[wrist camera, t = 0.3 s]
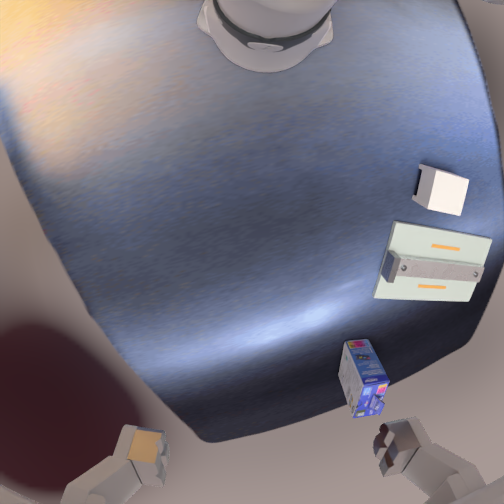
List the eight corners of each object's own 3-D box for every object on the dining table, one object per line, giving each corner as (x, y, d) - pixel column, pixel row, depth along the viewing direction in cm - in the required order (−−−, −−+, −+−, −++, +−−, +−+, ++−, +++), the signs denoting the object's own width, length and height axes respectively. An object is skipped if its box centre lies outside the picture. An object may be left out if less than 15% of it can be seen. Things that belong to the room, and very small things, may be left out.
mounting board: (393, 220, 47) (396, 222, 46) (489, 237, 48) (492, 239, 47) (371, 294, 53) (373, 298, 52) (466, 299, 54) (468, 301, 53)
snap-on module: (419, 163, 43) (436, 170, 38) (451, 172, 44) (469, 179, 39) (411, 199, 46) (427, 208, 41) (444, 206, 46) (460, 216, 41)
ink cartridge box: (361, 371, 61) (380, 424, 48) (337, 375, 61) (353, 429, 48) (370, 337, 57) (395, 391, 44) (344, 340, 57) (364, 396, 44)
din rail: (387, 250, 48) (394, 257, 45) (481, 261, 49) (489, 268, 47) (380, 273, 50) (387, 282, 47) (474, 281, 51) (481, 288, 49)
